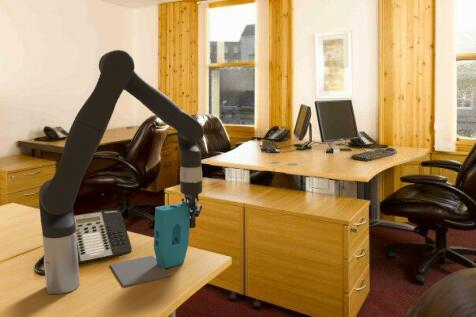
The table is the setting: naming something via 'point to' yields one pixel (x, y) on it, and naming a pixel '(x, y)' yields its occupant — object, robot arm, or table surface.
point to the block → (171, 234)
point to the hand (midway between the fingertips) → (191, 227)
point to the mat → (138, 271)
